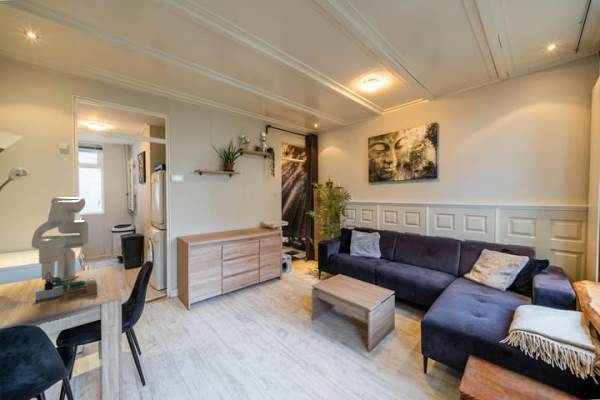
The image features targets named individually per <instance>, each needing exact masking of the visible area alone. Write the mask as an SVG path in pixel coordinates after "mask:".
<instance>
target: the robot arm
mask: <svg viewBox="0 0 600 400" xmlns="http://www.w3.org/2000/svg"><path fill="white" fill-rule="evenodd" d="M50 204H51V205H50V208H49V213H48V217H47V221H46V222H44V223H42V224H41V225H39V226H38V227H37V228H36V229H35V230H34V233H33V234H32V235H33V236H32V240H31V247H32V248H33V249H35V250H38V264H41V281H44V282H45V283H44V289H45V291H46V290H51V289H53V284H54V283H53V278H54V277H55V269H56V277H60V278H61V279H62V282H64V281H65V282H66V281H70V280H73V279H76V278H78V277H79V274H78V273H76V252H75V251H74V250H73V249H78V248H79V249H80V248H85V247H87V246H88V245H89V223H88V222H87V220H85V219H84V220H82V219H81V220H80V219H79V220H76V214H78V213H80V212H81V211H82V210H83V209H84V208H85V206H86V199H85V198H83V197H80V196H78V197H73V196H72V197H68V196H64V197H62V196H60V197H58V196H57V197H53V198H52V199H51V201H50ZM56 228H57V230H58V232H59V233H60V234H62V235H48V236H47V235H45V236H43V235H44V234H45V233H46V232H48V231H50V230H53V229H56ZM65 234H69V235H65ZM70 234H72V235H70ZM55 264H56V265H55ZM55 266H56V267H55Z"/></svg>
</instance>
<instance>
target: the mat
mask: <svg viewBox="0 0 600 400" xmlns="http://www.w3.org/2000/svg"><path fill="white" fill-rule="evenodd" d="M55 299H59V296H54V297H49V298H45V299H40V300H37V301H38V303H40V302H46V301H49V300H55Z"/></svg>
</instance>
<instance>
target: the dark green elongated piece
mask: <svg viewBox="0 0 600 400" xmlns="http://www.w3.org/2000/svg"><path fill="white" fill-rule="evenodd" d="M85 282H86V280H83V279H82V280H77V281H71V282H66V283H63V281H62V279H61V278H60V277H57V276H54V278H53V287H58V286H63V291H65V290H68V285H70V288H75V287H79V286H84V285H85ZM64 289H65V290H64Z"/></svg>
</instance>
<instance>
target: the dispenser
mask: <svg viewBox="0 0 600 400" xmlns="http://www.w3.org/2000/svg"><path fill="white" fill-rule="evenodd" d="M95 294H98V283H97V280H96V278H94V277H89V278H87V279H86V280H85V285H83V286H79V287H75V288H70V285H68V289H67V299H68V300H70V299H73V298H74V297H75V298H79V297H82V296H83V295H84V296H91V295H95Z"/></svg>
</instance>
